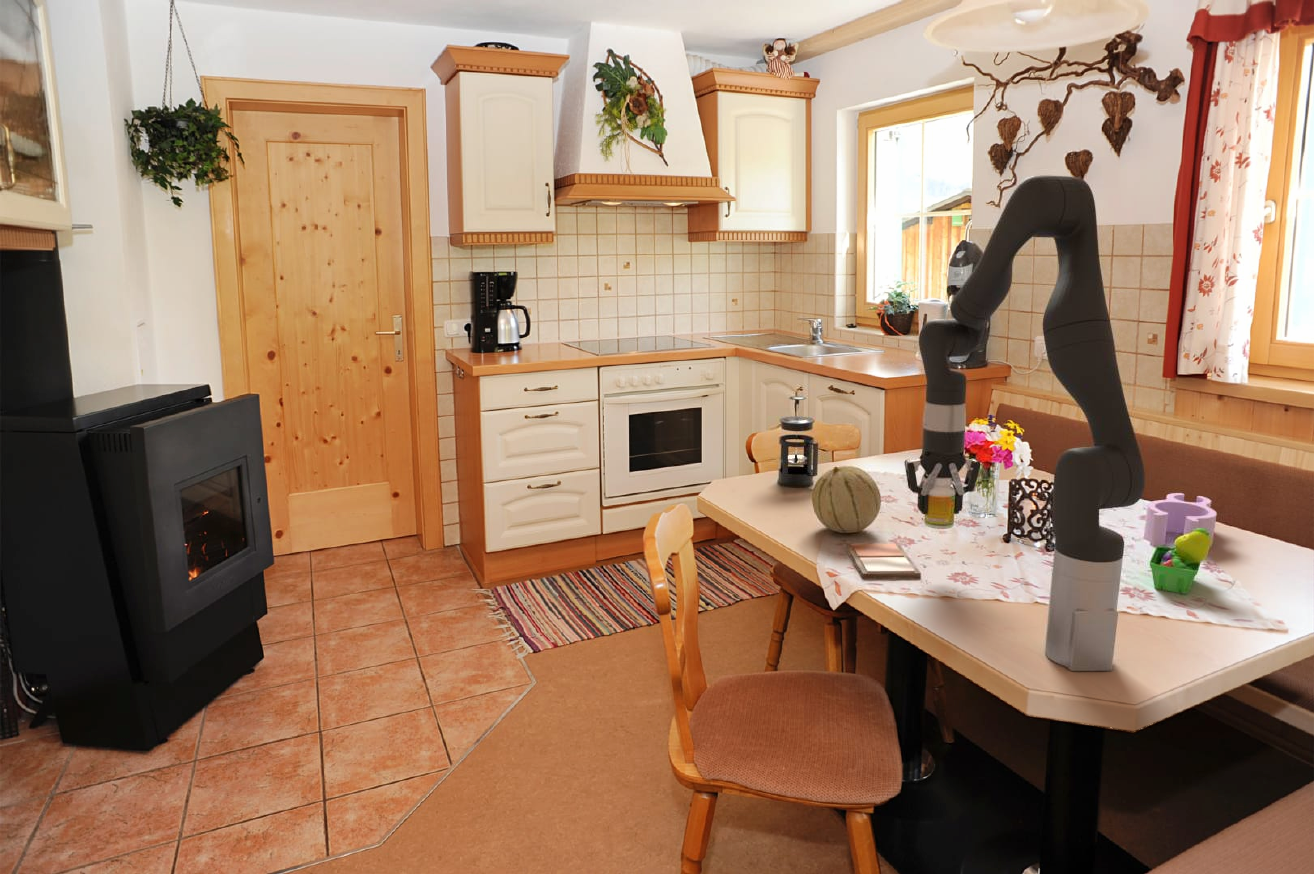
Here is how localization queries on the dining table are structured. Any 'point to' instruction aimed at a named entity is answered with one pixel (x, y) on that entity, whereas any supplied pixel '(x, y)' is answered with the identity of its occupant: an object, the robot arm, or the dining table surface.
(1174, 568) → the fruit basket
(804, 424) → the french press
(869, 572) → the makeup palette
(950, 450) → the robot arm
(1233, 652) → the dining table surface
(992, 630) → the dining table surface
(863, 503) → the cantaloupe
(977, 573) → the dining table surface
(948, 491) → the supplement bottle
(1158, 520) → the clip
